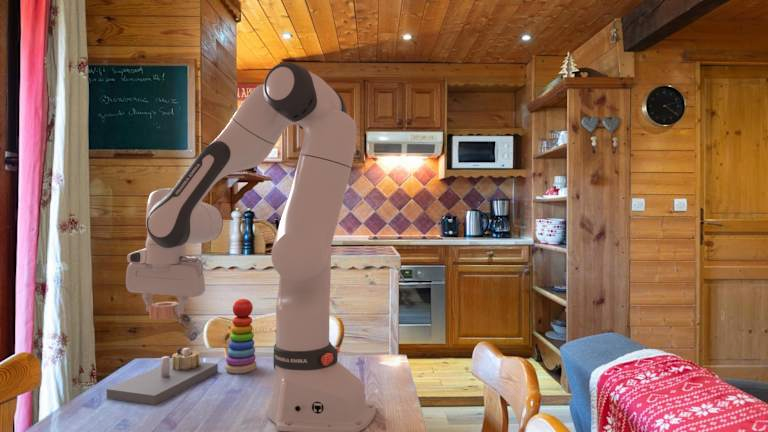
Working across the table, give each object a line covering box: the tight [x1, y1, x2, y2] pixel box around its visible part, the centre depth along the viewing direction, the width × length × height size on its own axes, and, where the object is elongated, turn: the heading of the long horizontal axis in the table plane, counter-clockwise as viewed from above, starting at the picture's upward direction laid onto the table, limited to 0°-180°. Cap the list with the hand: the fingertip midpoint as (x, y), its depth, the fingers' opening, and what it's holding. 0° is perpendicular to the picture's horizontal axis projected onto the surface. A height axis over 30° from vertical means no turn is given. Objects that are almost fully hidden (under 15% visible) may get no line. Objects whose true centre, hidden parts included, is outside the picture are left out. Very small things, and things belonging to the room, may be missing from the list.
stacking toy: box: [224, 298, 258, 375], centre depth 122 cm, size 8×8×19 cm
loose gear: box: [148, 301, 181, 321], centre depth 111 cm, size 7×7×3 cm
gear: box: [171, 347, 201, 370], centre depth 119 cm, size 7×7×4 cm
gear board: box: [106, 347, 219, 406], centre depth 112 cm, size 13×22×6 cm, turn 164°
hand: (164, 312), depth 111 cm, fingers closed on loose gear, 7 cm apart
